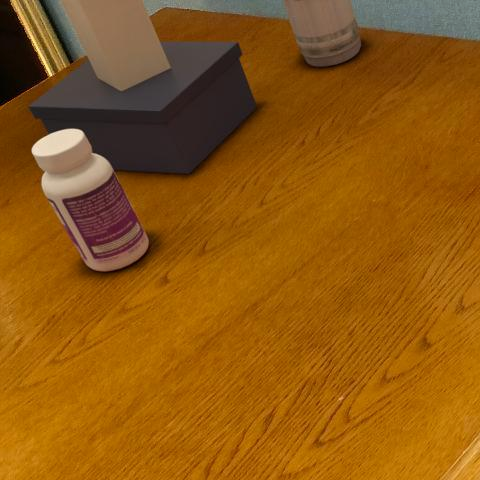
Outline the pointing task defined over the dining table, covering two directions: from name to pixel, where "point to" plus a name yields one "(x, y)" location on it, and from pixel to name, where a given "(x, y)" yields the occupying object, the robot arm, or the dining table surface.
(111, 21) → the cream box
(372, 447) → the dining table surface
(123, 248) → the pill bottle
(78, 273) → the dining table surface
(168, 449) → the dining table surface
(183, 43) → the storage box
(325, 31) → the camera lens
